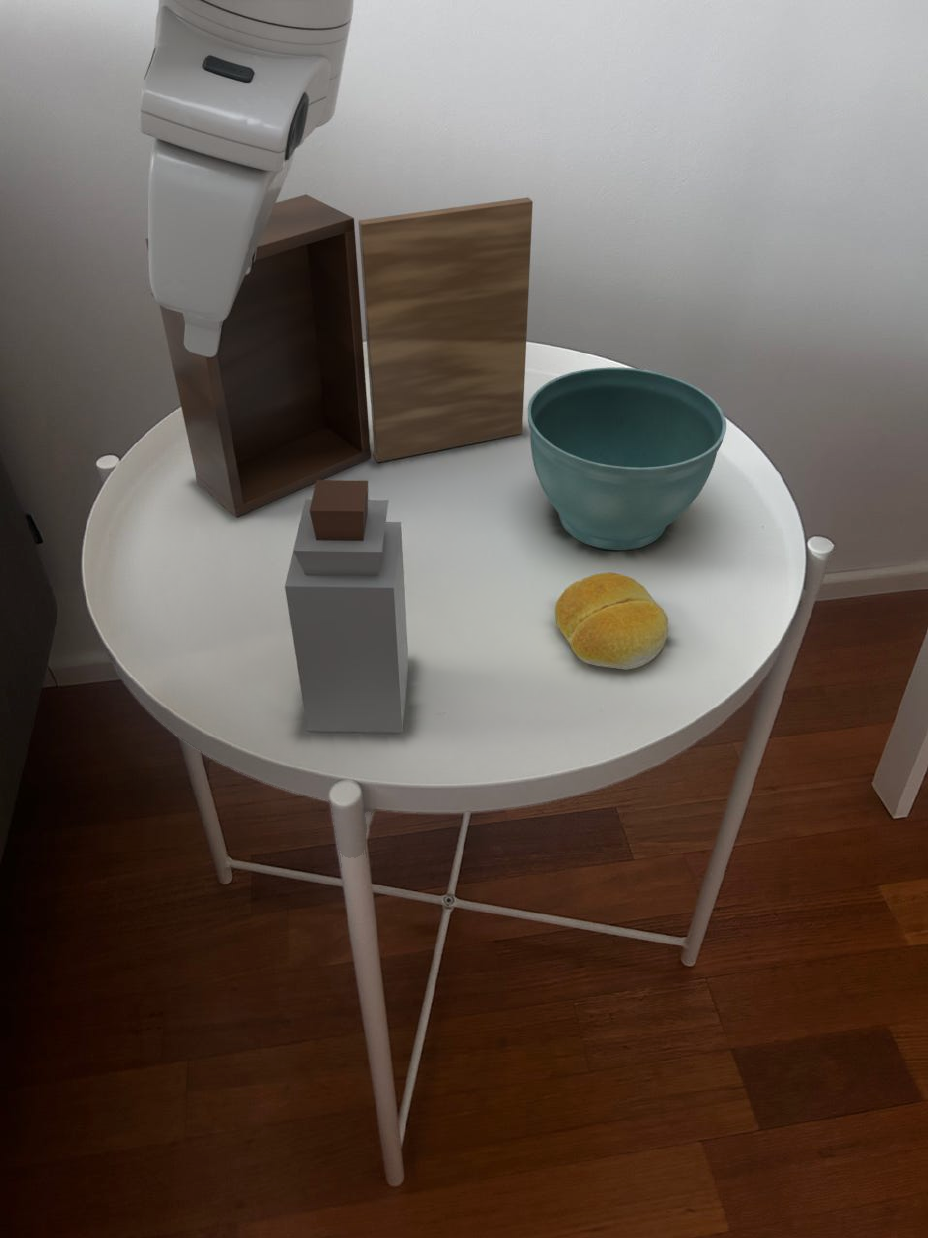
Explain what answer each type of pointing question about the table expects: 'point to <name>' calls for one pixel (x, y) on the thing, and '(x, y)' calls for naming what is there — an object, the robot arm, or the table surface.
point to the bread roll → (611, 621)
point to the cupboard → (280, 366)
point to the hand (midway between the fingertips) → (221, 305)
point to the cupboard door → (446, 324)
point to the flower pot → (622, 451)
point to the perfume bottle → (349, 611)
